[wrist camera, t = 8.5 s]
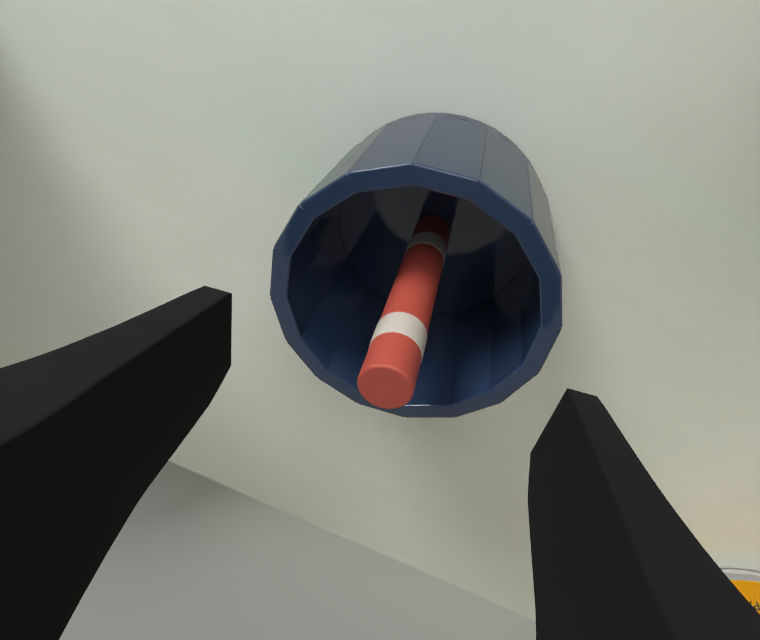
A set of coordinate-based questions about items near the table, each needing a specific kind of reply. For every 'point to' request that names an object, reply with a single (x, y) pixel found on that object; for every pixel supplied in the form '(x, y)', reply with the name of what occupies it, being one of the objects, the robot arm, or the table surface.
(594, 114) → the table surface
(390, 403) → the baton
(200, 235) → the table surface
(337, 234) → the cup
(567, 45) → the table surface
